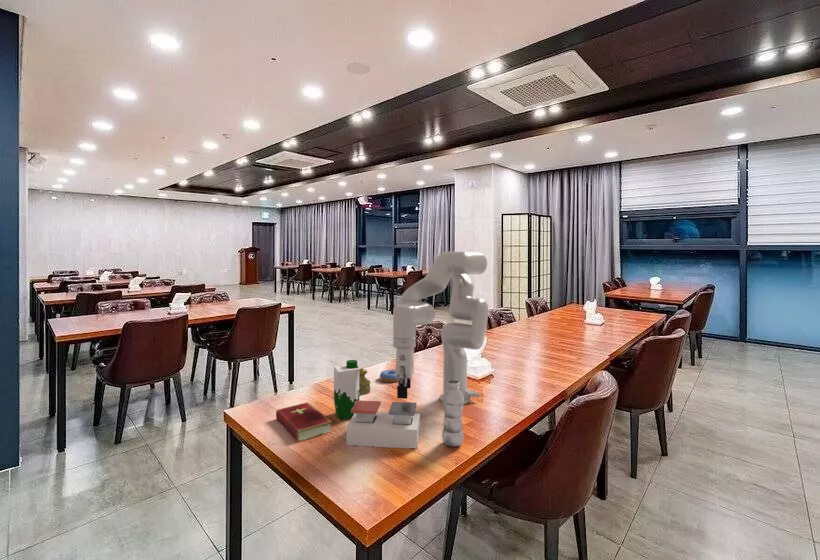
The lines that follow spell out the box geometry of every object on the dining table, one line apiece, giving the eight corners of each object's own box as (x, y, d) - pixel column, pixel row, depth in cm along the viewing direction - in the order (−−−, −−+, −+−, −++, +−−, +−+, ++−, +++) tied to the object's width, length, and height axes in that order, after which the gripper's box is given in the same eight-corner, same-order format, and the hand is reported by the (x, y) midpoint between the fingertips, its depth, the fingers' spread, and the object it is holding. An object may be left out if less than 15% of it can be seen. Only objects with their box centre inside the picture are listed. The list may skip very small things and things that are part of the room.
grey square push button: (416, 421, 128) (416, 402, 127) (414, 433, 120) (414, 412, 120) (392, 420, 129) (392, 401, 128) (388, 431, 121) (388, 411, 120)
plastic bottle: (440, 439, 124) (440, 378, 122) (461, 438, 124) (461, 378, 123) (443, 450, 118) (444, 385, 116) (465, 449, 118) (466, 385, 117)
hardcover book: (297, 443, 123) (297, 430, 122) (276, 420, 139) (275, 409, 139) (332, 432, 130) (331, 420, 129) (307, 412, 147) (307, 401, 146)
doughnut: (405, 380, 181) (404, 370, 181) (386, 385, 175) (385, 375, 175) (394, 376, 189) (393, 367, 189) (376, 381, 184) (375, 371, 184)
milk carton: (362, 417, 141) (361, 363, 139) (337, 421, 137) (336, 366, 136) (355, 408, 149) (355, 357, 147) (332, 412, 145) (331, 360, 144)
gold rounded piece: (367, 395, 162) (367, 372, 162) (350, 394, 164) (350, 371, 163) (372, 389, 170) (372, 367, 169) (356, 388, 171) (356, 366, 170)
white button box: (420, 430, 130) (419, 413, 130) (416, 448, 118) (416, 429, 118) (356, 427, 132) (355, 410, 132) (346, 445, 121) (346, 426, 120)
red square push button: (380, 420, 129) (380, 401, 129) (376, 431, 121) (376, 411, 121) (357, 419, 130) (357, 400, 130) (351, 429, 122) (351, 410, 122)
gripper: (413, 348, 118) (412, 403, 119) (418, 337, 136) (417, 384, 137) (389, 347, 119) (388, 402, 120) (396, 336, 136) (396, 383, 137)
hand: (404, 392), depth 128 cm, fingers open, 9 cm apart
